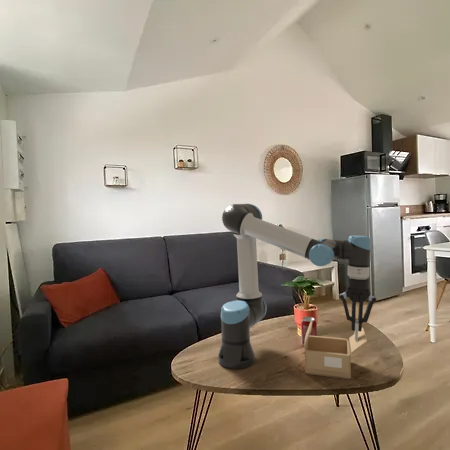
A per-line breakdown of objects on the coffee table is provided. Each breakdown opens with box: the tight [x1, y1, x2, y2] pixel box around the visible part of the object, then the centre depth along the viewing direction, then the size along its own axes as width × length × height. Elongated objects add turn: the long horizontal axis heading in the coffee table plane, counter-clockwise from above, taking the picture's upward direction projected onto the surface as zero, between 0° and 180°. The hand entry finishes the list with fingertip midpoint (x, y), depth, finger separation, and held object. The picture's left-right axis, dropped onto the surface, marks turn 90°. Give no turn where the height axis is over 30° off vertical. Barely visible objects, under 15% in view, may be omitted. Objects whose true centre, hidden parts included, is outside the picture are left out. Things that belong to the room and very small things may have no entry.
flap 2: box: [348, 327, 368, 354], centre depth 119 cm, size 7×13×1 cm
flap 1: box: [303, 319, 313, 349], centre depth 125 cm, size 7×13×1 cm
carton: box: [304, 335, 352, 380], centre depth 123 cm, size 16×15×9 cm
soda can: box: [300, 316, 318, 346], centre depth 144 cm, size 7×7×12 cm
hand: (356, 339), depth 119 cm, fingers closed
